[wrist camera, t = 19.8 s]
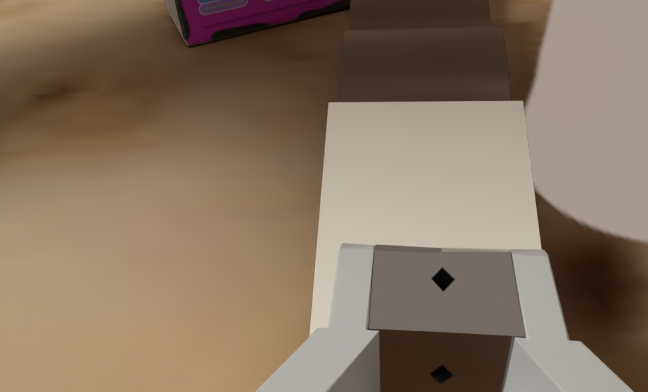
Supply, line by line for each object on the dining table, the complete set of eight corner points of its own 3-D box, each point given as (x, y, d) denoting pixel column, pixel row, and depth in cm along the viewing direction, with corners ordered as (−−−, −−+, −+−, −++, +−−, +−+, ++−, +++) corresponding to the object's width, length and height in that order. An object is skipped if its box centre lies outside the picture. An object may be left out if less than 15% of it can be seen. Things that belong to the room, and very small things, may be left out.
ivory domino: (580, 556, 10) (523, 100, 15) (293, 534, 11) (328, 102, 16) (557, 555, 12) (511, 137, 17) (304, 535, 12) (333, 137, 17)
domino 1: (510, 215, 17) (485, -22, 22) (337, 213, 18) (351, -18, 23) (501, 239, 19) (480, 11, 24) (341, 236, 19) (353, 14, 24)
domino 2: (538, 340, 14) (502, 26, 19) (323, 332, 14) (344, 30, 19) (525, 358, 15) (495, 61, 20) (329, 350, 16) (347, 64, 21)
